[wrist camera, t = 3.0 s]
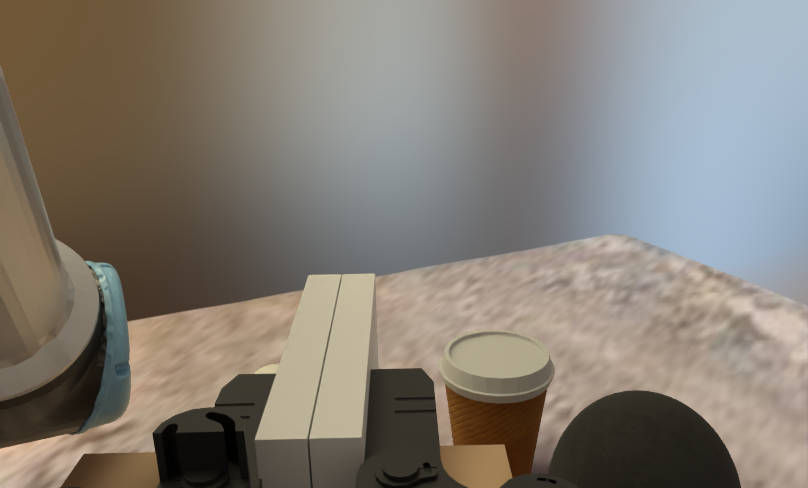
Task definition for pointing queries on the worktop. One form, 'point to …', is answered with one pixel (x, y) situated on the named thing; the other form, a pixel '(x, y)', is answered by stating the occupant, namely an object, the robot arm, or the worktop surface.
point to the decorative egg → (642, 446)
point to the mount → (139, 477)
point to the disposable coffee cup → (497, 391)
